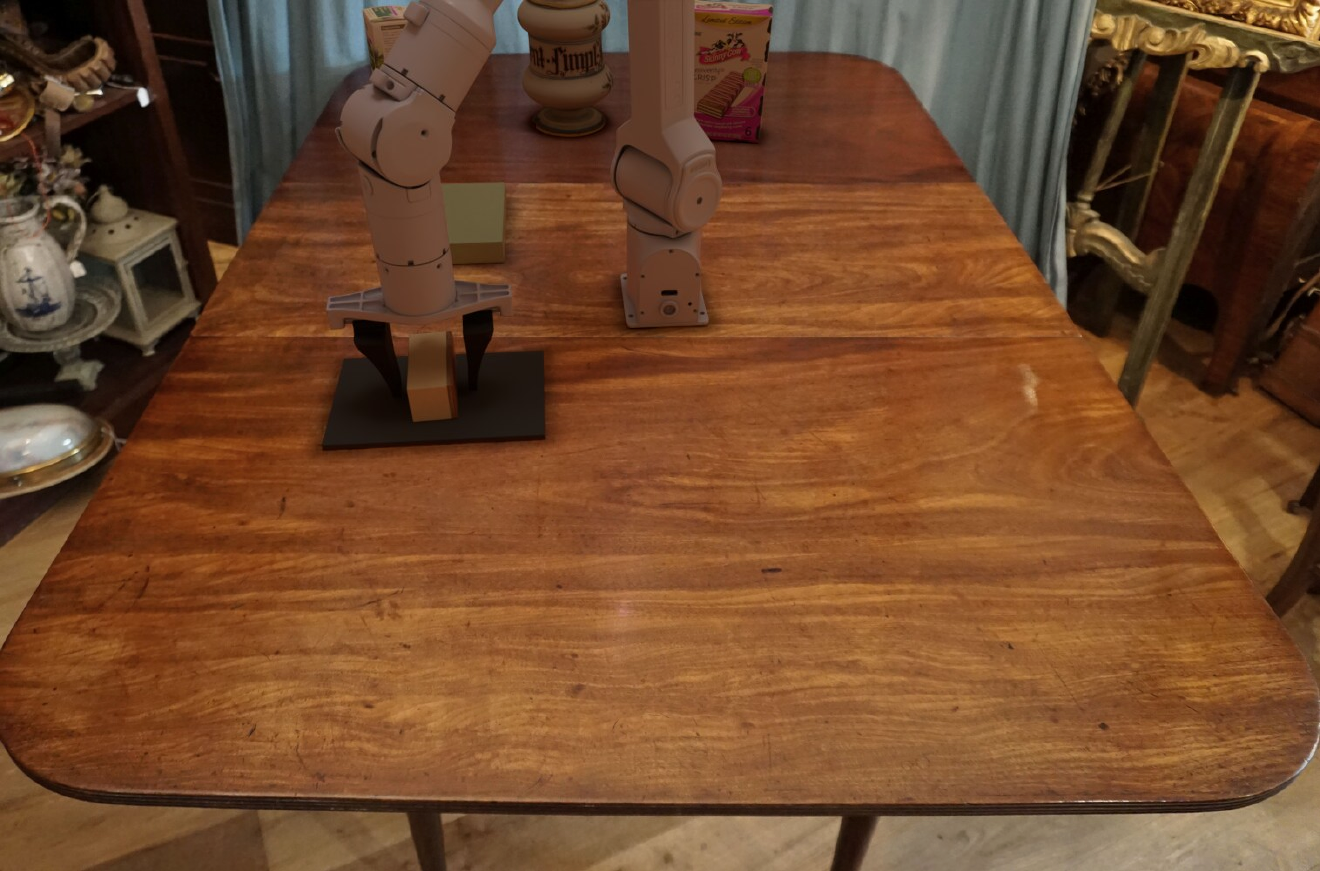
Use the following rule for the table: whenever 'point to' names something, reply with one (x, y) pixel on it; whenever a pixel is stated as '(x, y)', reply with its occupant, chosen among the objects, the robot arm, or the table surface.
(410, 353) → the tan rectangular block
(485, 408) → the felt mat
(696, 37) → the candy bar box
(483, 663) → the table surface
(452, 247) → the sage rectangular block
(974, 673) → the table surface
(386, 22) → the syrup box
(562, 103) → the apothecary jar
